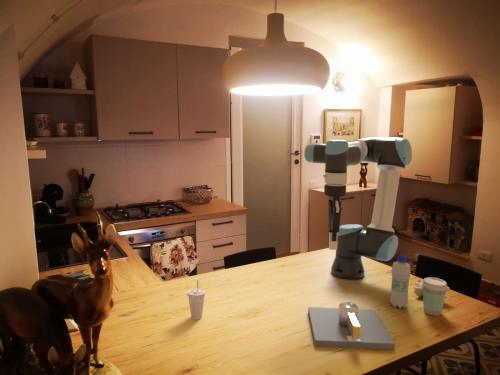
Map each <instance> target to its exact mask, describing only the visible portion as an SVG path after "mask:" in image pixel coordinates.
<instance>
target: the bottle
mask: <svg viewBox="0 0 500 375" xmlns="http://www.w3.org/2000/svg"><path fill="white" fill-rule="evenodd" d="M407 260H408V259H407V256H405V255H399V254H398V256H397V257H396V261H394V262H392V266H391V288H390V290H391V291H390V295H389V296H390V297H389V303H390V305H391V306H393V308H397V307H398V309H401V308H402V309H405V308H406V307H407V306H408V303H409V281H410V278H411V273H412V272H411V264H410V263H408V262H407Z"/></svg>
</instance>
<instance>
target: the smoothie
mask: <svg viewBox="0 0 500 375" xmlns="http://www.w3.org/2000/svg"><path fill="white" fill-rule="evenodd" d="M199 285H200V284H199V279H196V287H193V288H190V289H188V290H187V292H186V293H187V294H186V295H187V297H188V303H189V310H190V317H191V318H190V319H192V320H193V321H198V320H201V319H202V318H203V311H204V304H205V296H206V290H205V289H204V288H201V287H199Z"/></svg>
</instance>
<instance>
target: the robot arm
mask: <svg viewBox="0 0 500 375" xmlns="http://www.w3.org/2000/svg"><path fill="white" fill-rule="evenodd" d="M412 150H413V149H412V146H411V142H410V141H409V140H408V139H407V138H406V137H398V136H395V137H385V136H384V137H381V136H377V137H376V136H373V137H372V136H371V137H367V138H359V139H358V138H357V139H354V140H352V141H350V142H349V141H347V140H346V139H328V140H327V141H326V142H325V143H308V144H307V145H306V146H305V149H304V159H305V161H306V162H308V163H313V164H325V165H324V167H325V168H324V174H323V175H322V177H323V179H324V183H325V185H324V187H323V190H324V191H323V195H325V196H326V197H329V199H328V201H327V204H328V228H329V229H328V234H329V236H328V238H329V239H328V250H330V251H331V250H332V251H334V250H335V257H334V259H333V262H332V265H331V268H330V273H331V274H332V275H333V276H334V277H337V278H340V279H343V280H359V279H363V278H364V276H365V267H364V264H363V260H362V257H366V258H370V259H375V260H377V261H384V262H388V261H390V260H392V258H393V257H394V256H395V254H396V252H397V249H398V246H399V237H398V236H397V235H395V232H396V231H395V229H394V228H393V227H392V226H393V220H394V214H395V209H396V208H395V207H396V204H397V203H396V201H397V197H398V196H397V195H398V189H399V182H400V178H401V173H402V172H404V171H405V169H406V166H409V165H410V164H411V162H412V159H413V158H412V156H413V151H412ZM363 162H368V163H375V164H376V167H377V168H378V170H379V173H378V180H377V185H376V186H377V187H376V191H375V198H374V204H373V210H372V217H371V223H369V224H368V225H367V226H366V229H364V226H363V225H362V224H357V223H349V224H342V225H341V217H342V216H341V214H342V210H343V208H342V201H341V198H342V197H345V196H346V195H347V185H346V184H347V180H348V167H349V166H357V165H359V164H361V163H363Z"/></svg>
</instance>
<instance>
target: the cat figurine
mask: <svg viewBox="0 0 500 375" xmlns="http://www.w3.org/2000/svg"><path fill="white" fill-rule="evenodd" d="M422 282H423V280H421V279H417V280H416V282H415V284H414V287H413V292H414V294H415V295H416V296H417V297H418V298H419V299H421V296H423V286H422ZM447 288H448V289H447V290H446V293H447V292H449V290H450V289H451V288H450V287H449V286H448V287H447ZM445 299H448V296H447V294H446V295H445ZM445 299H444V300H445Z"/></svg>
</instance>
